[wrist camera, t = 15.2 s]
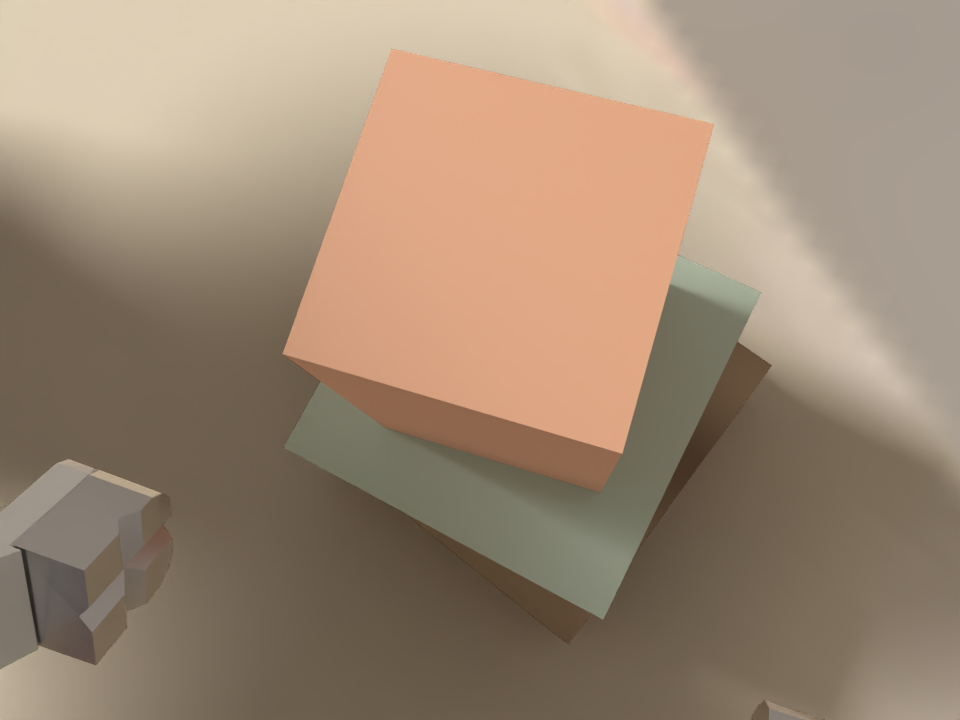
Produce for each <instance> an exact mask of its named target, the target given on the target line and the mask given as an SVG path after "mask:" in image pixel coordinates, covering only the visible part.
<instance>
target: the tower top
mask: <svg viewBox="0 0 960 720" xmlns="http://www.w3.org/2000/svg"><path fill="white" fill-rule="evenodd" d="M760 293H761V292H759V291H757V290H755V289H752V288H750V287H748V286H746V285H744V284H741V283H739V282H737V281H735V280H732V279H730V278H728V277H726V276H724V275H721V274H719V273H717V272H715V271H712V270H710V269H708V268H706V267H704V266H701V265H699V264H697V263H695V262H692V261H690V260H688V259H686V258H684V257H681V256H679V255H678V256H677V259H676V263H675V267H674V270H673V274H672V277H671V281H670V285H669V288H668V292H667V295H666V299H665V303H664V306H663V310H662V313H661V317H660V321H659V324H658V328H657V331H656V335H655V338H654V342H653V346H652V349H651V353H650V356H649V360H648V364H647V367H646V371H645V374H644V378H643V382H642V385H641V389H640V392H639V396H638V399H637V403H636V407H635V410H634V414H633V417H632V421H631V425H630V428H629V432H628V435H627V439H626V443H625V446H624V450H623V453H622V455H621V457H620V459H619V461H618V462H617V464H616V466H615V467H614V469H613V471H612V473H611V474H610V476H609V478H608V480H607V481H606V483H605V485H604V487H603V488H602V490H601V492H596V491H593V490H590V489H586V488H583V487H580V486H576V485H573V484H570V483H566V482H563V481H560V480H557V479H553V478H550V477H547V476H543V475H540V474H537V473H533V472H530V471H527V470H523V469H520V468H517V467H513V466H510V465H507V464H504V463H500V462H497V461H494V460H490V459H487V458H484V457H480V456H477V455H474V454H470V453H467V452H464V451H460V450H457V449H454V448H450V447H447V446H444V445H441V444H437V443H434V442H431V441H427V440H424V439H421V438H417V437H414V436H411V435H407V434H404V433H401V432H397V431H394V430H391V429H388V428H384V427H383V426H382V425H380V424H379V423H378V422H376V421H375V420H373V419H372V418H371V417H369V416H368V415H366V414H365V413H364V412H362V411H361V410H360V409H358V408H357V407H355V406H354V405H353V404H351V403H350V402H348V401H347V400H346V399H344V398H343V397H342V396H340V395H339V394H337V393H336V392H335V391H333V390H332V389H330V388H329V387H328V386H326V385H325V384H324V383H322V382H321V381H320V383H319V385H318V387H317V388H316V390H315V392H314V394H313V395H312V397H311V399H310V401H309V403H308V404H307V406H306V408H305V410H304V412H303V413H302V415H301V417H300V419H299V421H298V422H297V424H296V426H295V428H294V430H293V431H292V433H291V435H290V437H289V438H288V440H287V442H286V444H285V446H284V447H283V448H285V449H287V450H289V451H291V452H293V453H294V454H296V455H298V456H300V457H302V458H304V459H306V460H307V461H309V462H311V463H313V464H315V465H317V466H319V467H320V468H322V469H324V470H326V471H328V472H330V473H332V474H333V475H335V476H337V477H339V478H341V479H343V480H345V481H346V482H348V483H350V484H352V485H354V486H356V487H358V488H359V489H361V490H363V491H365V492H367V493H369V494H371V495H372V496H374V497H376V498H378V499H380V500H382V501H384V502H385V503H387V504H389V505H391V506H393V507H395V508H397V509H398V510H400V511H402V512H404V513H406V514H408V515H410V516H411V517H413V518H415V519H417V520H419V521H421V522H422V523H424V524H426V525H428V526H430V527H432V528H434V529H435V530H437V531H439V532H441V533H443V534H445V535H447V536H448V537H450V538H452V539H454V540H456V541H458V542H460V543H461V544H463V545H465V546H467V547H469V548H471V549H473V550H474V551H476V552H478V553H480V554H482V555H484V556H486V557H487V558H489V559H491V560H493V561H495V562H497V563H499V564H500V565H502V566H504V567H506V568H508V569H510V570H512V571H513V572H515V573H517V574H519V575H521V576H523V577H525V578H526V579H528V580H530V581H532V582H534V583H536V584H538V585H539V586H541V587H543V588H545V589H547V590H549V591H551V592H552V593H554V594H556V595H558V596H560V597H562V598H564V599H565V600H567V601H569V602H571V603H573V604H575V605H577V606H578V607H580V608H582V609H584V610H586V611H588V612H590V613H591V614H593V615H595V616H597V617H599V618H601V619H602V620H603V619H604V617H605V615H606V613H607V611H608V609H609V607H610V605H611V603H612V601H613V599H614V597H615V594H616V592H617V590H618V588H619V586H620V584H621V582H622V580H623V578H624V576H625V574H626V572H627V570H628V567H629V565H630V563H631V561H632V559H633V557H634V555H635V553H636V551H637V549H638V547H639V545H640V543H641V540H642V538H643V536H644V534H645V532H646V530H647V528H648V526H649V524H650V522H651V520H652V518H653V516H654V513H655V511H656V509H657V507H658V505H659V503H660V501H661V499H662V497H663V495H664V493H665V491H666V489H667V486H668V484H669V482H670V480H671V478H672V476H673V474H674V472H675V470H676V468H677V466H678V464H679V462H680V459H681V457H682V455H683V453H684V451H685V449H686V447H687V445H688V443H689V441H690V439H691V437H692V435H693V432H694V430H695V428H696V426H697V424H698V422H699V420H700V418H701V416H702V414H703V412H704V410H705V408H706V405H707V403H708V401H709V399H710V397H711V395H712V393H713V391H714V389H715V387H716V385H717V383H718V381H719V378H720V376H721V374H722V372H723V370H724V368H725V366H726V364H727V362H728V360H729V358H730V356H731V354H732V351H733V349H734V347H735V345H736V343H737V341H738V339H739V337H740V335H741V333H742V331H743V329H744V327H745V324H746V322H747V320H748V318H749V316H750V314H751V312H752V310H753V308H754V306H755V304H756V302H757V300H758V297H759V295H760Z"/></svg>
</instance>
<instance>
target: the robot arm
mask: <svg viewBox="0 0 960 720" xmlns="http://www.w3.org/2000/svg"><path fill="white" fill-rule="evenodd" d="M170 516H171V508H170V497H169V496H167V495H165V494H163V493H160V492H157V491H155V490H152V489H149V488H147V487H144V486H141V485H139V484H136V483H133V482H131V481H128V480H125V479H123V478H120V477H117V476H115V475H112V474H109V473H107V472H104V471H102V470H98V469H95V468H92V467H90V466H87V465H84V464H81V463H79V462H76V461H73V460H70V459H67V460H64V461H61V462H58V463H56V464H55V465H53V466H52V467H51V468H50V469H49V470H48V471H47V472H45V473H44V474H43V475H42V476H41V477H40V478H39V479H37V480H36V481H35V482H34V483H33V484H32V485H31V486H29V487H28V488H27V489H26V490H25V491H24V492H23V493H21V494H20V495H19V496H18V497H17V498H16V499H15V500H13V501H12V502H11V503H10V504H9V505H8V506H7V507H5V508H4V509H3V510H2V511H1V512H0V669H1V668H3V667H5V666H7V665H9V664H11V663H13V662H15V661H17V660H18V659H20V658H22V657H24V656H26V655H28V654H30V653H32V652H34V651H36V650H37V649H38V645H39V646H42V647H45V648H48V649H51V650H54V651H56V652H59V653H62V654H65V655H68V656H71V657H74V658H77V659H79V660H82V661H85V662H88V663H91V664H94V665H97V664H98V662H99V661H100V660H101V659H102V657H103V656H104V655H105V654H106V653H107V651H108V650H109V649H110V648H111V646H112V645H113V644H114V643H115V642H116V640H117V639H118V638H119V637H120V636H121V634H122V633H123V632H124V631H125V629H126V628H127V611H129V610H131V609H134V608H136V607H139V606H141V605H143V604H146V603H147V602H148V601H149V600H150V599H151V597H152V596H153V595H154V593H155V592H156V591H157V590H158V588H159V587H160V585H161V583H162V581H163V579H164V577H165V575H166V573H167V571H168V568H169V566H170V561H171V556H172V552H173V550H172V537H171V536H170V534H169V533H168V531H167V530H166V528H165V527H164V526H163V524H164V523H165V521H166V520H167V519H168V518H169V517H170ZM752 720H825V719H821V718H818V717H815V716H812V715H809V714H806V713H803V712H800V711H797V710H794V709H791V708H788V707H785V706H782V705H779V704H776V703H773V702H770V701H767V700H764V701H763V702H761V703H760V704H759V705H758V707H757V708H756V710H755V712H754V714H753V715H752Z"/></svg>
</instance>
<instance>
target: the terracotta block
mask: <svg viewBox="0 0 960 720" xmlns="http://www.w3.org/2000/svg"><path fill="white" fill-rule="evenodd" d="M713 127H714V124H712V123H707V122H703V121H699V120H694V119H690V118H686V117H682V116H677V115H673V114H669V113H665V112H660V111H656V110H652V109H647V108H643V107H639V106H635V105H630V104H626V103H622V102H617V101H613V100H609V99H605V98H600V97H596V96H592V95H588V94H583V93H579V92H575V91H570V90H566V89H562V88H558V87H553V86H549V85H545V84H540V83H536V82H532V81H528V80H523V79H519V78H515V77H510V76H506V75H502V74H498V73H493V72H489V71H485V70H481V69H476V68H472V67H468V66H463V65H459V64H455V63H451V62H446V61H442V60H438V59H433V58H429V57H425V56H421V55H416V54H412V53H408V52H403V51H399V50H395V49H391V52H390V55H389V58H388V61H387V63H386V66H385V69H384V72H383V75H382V77H381V80H380V83H379V86H378V89H377V91H376V94H375V97H374V100H373V103H372V105H371V108H370V111H369V114H368V117H367V119H366V122H365V125H364V128H363V131H362V133H361V136H360V139H359V142H358V144H357V147H356V150H355V153H354V156H353V158H352V161H351V164H350V167H349V170H348V172H347V175H346V178H345V181H344V184H343V186H342V189H341V192H340V195H339V198H338V200H337V203H336V206H335V209H334V212H333V214H332V217H331V220H330V223H329V226H328V228H327V231H326V234H325V237H324V239H323V242H322V245H321V248H320V251H319V253H318V256H317V259H316V262H315V265H314V267H313V270H312V273H311V276H310V279H309V281H308V284H307V287H306V290H305V293H304V295H303V298H302V301H301V304H300V307H299V309H298V312H297V315H296V318H295V320H294V323H293V326H292V329H291V332H290V334H289V337H288V340H287V343H286V346H285V348H284V351H283V355H285V356H286V357H288V358H289V359H290V360H292V361H293V362H294V363H296V364H297V365H299V366H300V367H301V368H303V369H304V370H306V371H307V372H308V373H310V374H311V375H312V376H314V377H315V378H317V379H318V380H319V381H321V382H322V383H324V384H325V385H326V386H328V387H329V388H330V389H332V390H333V391H335V392H336V393H337V394H339V395H340V396H342V397H343V398H344V399H346V400H347V401H348V402H350V403H351V404H353V405H354V406H355V407H357V408H358V409H360V410H361V411H362V412H364V413H365V414H366V415H368V416H369V417H371V418H372V419H373V420H375V421H376V422H378V423H379V424H380V425H382V426H383V427H384V428H388V429H391V430H394V431H397V432H401V433H404V434H407V435H411V436H414V437H417V438H421V439H424V440H427V441H431V442H434V443H437V444H441V445H444V446H447V447H450V448H454V449H457V450H460V451H464V452H467V453H470V454H474V455H477V456H480V457H484V458H487V459H490V460H494V461H497V462H500V463H504V464H507V465H510V466H513V467H517V468H520V469H523V470H527V471H530V472H533V473H537V474H540V475H543V476H547V477H550V478H553V479H557V480H560V481H563V482H566V483H570V484H573V485H576V486H580V487H583V488H586V489H590V490H593V491H596V492H601V490H602V488H603V487H604V485H605V483H606V481H607V480H608V478H609V476H610V474H611V473H612V471H613V469H614V467H615V466H616V464H617V462H618V461H619V459H620V457H621V455H622V453H623V450H624V446H625V443H626V439H627V435H628V432H629V428H630V425H631V421H632V417H633V414H634V410H635V407H636V403H637V399H638V396H639V392H640V389H641V385H642V382H643V378H644V374H645V371H646V367H647V364H648V360H649V356H650V353H651V349H652V346H653V342H654V338H655V335H656V331H657V328H658V324H659V321H660V317H661V313H662V310H663V306H664V303H665V299H666V295H667V292H668V288H669V285H670V281H671V277H672V274H673V270H674V267H675V263H676V259H677V256H678V252H679V249H680V245H681V242H682V238H683V234H684V231H685V227H686V224H687V220H688V216H689V213H690V209H691V206H692V202H693V198H694V195H695V191H696V188H697V184H698V180H699V177H700V173H701V170H702V166H703V163H704V159H705V155H706V152H707V148H708V145H709V141H710V137H711V134H712V130H713Z"/></svg>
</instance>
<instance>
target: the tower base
mask: <svg viewBox="0 0 960 720" xmlns="http://www.w3.org/2000/svg"><path fill="white" fill-rule="evenodd" d="M771 366H772V365H770V364H769V363H767V362H766V361H765V360H763V359H762V358H760V357H759V356H757V355H756V354H754V353H753V352H751V351H750V350H748V349H747V348H746V347H744V346H743V345H741V344H740V343H738V342H737V343H736V345H735V347H734V349H733V351H732V354H731V356H730V358H729V360H728V362H727V364H726V366H725V368H724V370H723V372H722V374H721V376H720V378H719V381H718V383H717V385H716V387H715V389H714V391H713V393H712V395H711V397H710V399H709V401H708V403H707V405H706V408H705V410H704V412H703V414H702V416H701V418H700V420H699V422H698V424H697V426H696V428H695V430H694V432H693V435H692V437H691V439H690V441H689V443H688V445H687V447H686V449H685V451H684V453H683V455H682V457H681V459H680V462H679V464H678V466H677V468H676V470H675V472H674V474H673V476H672V478H671V480H670V482H669V484H668V486H667V489H666V491H665V493H664V495H663V497H662V499H661V501H660V503H659V505H658V507H657V509H656V511H655V513H654V516H653V518H652V520H651V522H650V524H649V526H648V528H647V530H646V532H645V534H644V536H643V538H642V540H641V543H640V545H641V544H642V543H643V541H644V540H645V539H646V537H647V536H648V534H649V533H650V532H651V530H652V529H653V528H654V526H655V525H656V524H657V522H658V521H659V519H660V518H661V517H662V515H663V514H664V513H665V511H666V510H667V508H668V507H669V506H670V504H671V503H672V502H673V500H674V499H675V498H676V496H677V495H678V493H679V492H680V491H681V489H682V488H683V487H684V485H685V484H686V482H687V481H688V480H689V478H690V477H691V476H692V474H693V473H694V471H695V470H696V469H697V467H698V466H699V465H700V463H701V462H702V461H703V459H704V458H705V456H706V455H707V454H708V452H709V451H710V450H711V448H712V447H713V445H714V444H715V443H716V441H717V440H718V439H719V437H720V436H721V434H722V433H723V432H724V430H725V429H726V428H727V426H728V425H729V424H730V422H731V421H732V419H733V418H734V417H735V415H736V414H737V413H738V411H739V410H740V408H741V407H742V406H743V404H744V403H745V402H746V400H747V399H748V398H749V396H750V395H751V393H752V392H753V391H754V389H755V388H756V387H757V385H758V384H759V382H760V381H761V380H762V378H763V377H764V376H765V374H766V373H767V371H768V370H769V369H770V367H771ZM405 514H406V513H405ZM406 515H408V514H406ZM408 516H409V517H410V518H411V519H413V520H414V521H415V522H416V523H417V524H419V525H420V526H421V527H422V528H424V529H425V530H426V531H427V532H429V533H430V534H431V535H432V536H434V537H435V538H436V539H437V540H439V541H440V542H441V543H442V544H444V545H445V546H446V547H447V548H449V549H450V550H451V551H452V552H454V553H455V554H456V555H457V556H459V557H460V558H461V559H462V560H464V561H465V562H466V563H467V564H469V565H470V566H471V567H472V568H474V569H475V570H476V571H477V572H478V573H480V574H481V575H482V576H483V577H485V578H486V579H487V580H488V581H490V582H491V583H492V584H493V585H495V586H496V587H497V588H498V589H500V590H501V591H502V592H503V593H505V594H506V595H507V596H508V597H510V598H511V599H512V600H513V601H515V602H516V603H517V604H518V605H520V606H521V607H522V608H523V609H525V610H526V611H527V612H528V613H530V614H531V615H532V616H533V617H534V618H536V619H537V620H538V621H539V622H541V623H542V624H543V625H544V626H546V627H547V628H548V629H549V630H551V631H552V632H553V633H554V634H556V635H557V636H558V637H559V638H561V639H562V640H563V641H564V642H566V643H567V644H569V643H570V641H571V640H572V639H573V637H574V636H575V634H576V633H577V632H578V630H579V629H580V628H581V626H582V625H583V624H584V622H585V621H586V619H587V618H588V617H589V615H590V614H591V613H590V612H588V611H586V610H584V609H582V608H580V607H578V606H577V605H575V604H573V603H571V602H569V601H567V600H565V599H564V598H562V597H560V596H558V595H556V594H554V593H552V592H551V591H549V590H547V589H545V588H543V587H541V586H539V585H538V584H536V583H534V582H532V581H530V580H528V579H526V578H525V577H523V576H521V575H519V574H517V573H515V572H513V571H512V570H510V569H508V568H506V567H504V566H502V565H500V564H499V563H497V562H495V561H493V560H491V559H489V558H487V557H486V556H484V555H482V554H480V553H478V552H476V551H474V550H473V549H471V548H469V547H467V546H465V545H463V544H461V543H460V542H458V541H456V540H454V539H452V538H450V537H448V536H447V535H445V534H443V533H441V532H439V531H437V530H435V529H434V528H432V527H430V526H428V525H426V524H424V523H422V522H421V521H419V520H417V519H415V518H413V517H411V516H410V515H408ZM640 545H639V547H640ZM639 547H638V548H639ZM637 550H638V549H637Z"/></svg>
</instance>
